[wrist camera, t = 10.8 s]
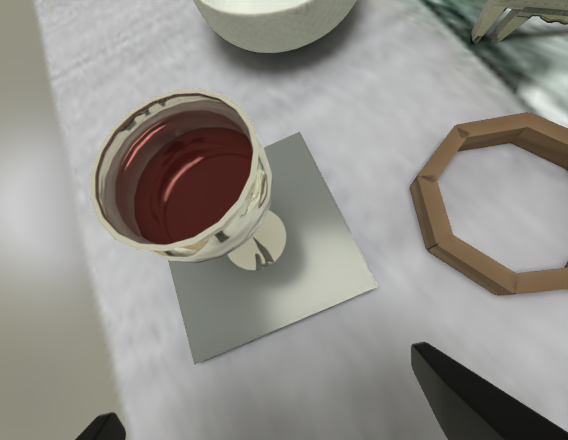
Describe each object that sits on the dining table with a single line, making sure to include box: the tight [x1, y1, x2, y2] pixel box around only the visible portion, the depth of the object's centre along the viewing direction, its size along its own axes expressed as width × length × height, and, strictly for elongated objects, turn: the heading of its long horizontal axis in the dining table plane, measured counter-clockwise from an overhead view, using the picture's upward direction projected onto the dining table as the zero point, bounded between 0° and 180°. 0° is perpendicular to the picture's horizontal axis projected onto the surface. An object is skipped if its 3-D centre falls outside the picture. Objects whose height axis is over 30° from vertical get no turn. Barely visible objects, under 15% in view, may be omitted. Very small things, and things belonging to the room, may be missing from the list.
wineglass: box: [90, 89, 286, 270], centre depth 16 cm, size 7×7×12 cm
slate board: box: [168, 132, 378, 365], centre depth 22 cm, size 14×14×1 cm
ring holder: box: [410, 112, 568, 295], centre depth 19 cm, size 12×12×2 cm
